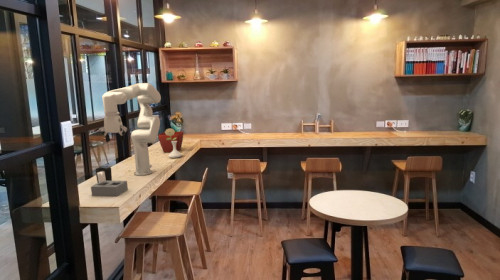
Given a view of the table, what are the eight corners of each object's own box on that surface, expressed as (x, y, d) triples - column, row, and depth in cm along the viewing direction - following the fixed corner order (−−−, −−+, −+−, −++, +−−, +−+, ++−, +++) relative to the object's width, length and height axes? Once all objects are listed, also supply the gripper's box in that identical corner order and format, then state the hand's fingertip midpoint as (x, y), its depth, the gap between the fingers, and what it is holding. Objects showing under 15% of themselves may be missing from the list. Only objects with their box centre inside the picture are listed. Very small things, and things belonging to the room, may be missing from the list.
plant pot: (165, 149, 325) (163, 131, 322) (184, 148, 324) (183, 131, 321) (159, 153, 306) (157, 135, 303) (180, 153, 305) (178, 134, 302)
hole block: (103, 189, 210) (102, 180, 209) (127, 189, 207) (126, 180, 206) (91, 195, 198) (90, 186, 197) (117, 196, 196) (116, 187, 195)
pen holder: (108, 180, 228) (106, 166, 226) (115, 182, 222) (113, 168, 220) (94, 184, 221) (92, 169, 219) (101, 186, 215) (99, 171, 213)
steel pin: (102, 188, 205) (99, 171, 203) (108, 188, 205) (105, 171, 203) (98, 191, 201) (95, 173, 199) (105, 191, 201) (102, 173, 199)
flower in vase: (183, 155, 294) (181, 127, 289) (179, 158, 283) (177, 129, 278) (169, 155, 295) (166, 127, 291) (164, 159, 284) (162, 129, 280)
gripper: (127, 112, 208) (131, 140, 212) (102, 113, 211) (106, 140, 215) (121, 114, 201) (125, 142, 205) (94, 115, 204) (99, 143, 208)
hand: (115, 141), depth 210 cm, fingers open, 9 cm apart
